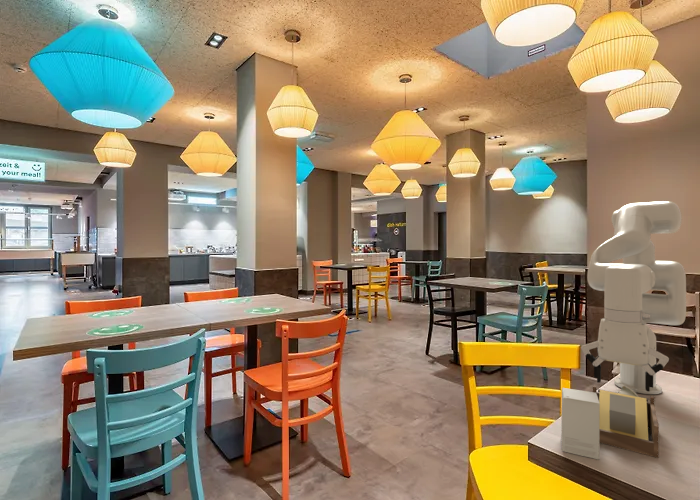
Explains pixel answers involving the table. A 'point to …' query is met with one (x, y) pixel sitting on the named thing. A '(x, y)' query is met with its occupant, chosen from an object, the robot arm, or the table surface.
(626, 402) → the plain grey carton
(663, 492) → the table surface
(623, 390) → the ceramic fragment
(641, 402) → the trapdoor
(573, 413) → the supplement box
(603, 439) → the trapdoor frame
